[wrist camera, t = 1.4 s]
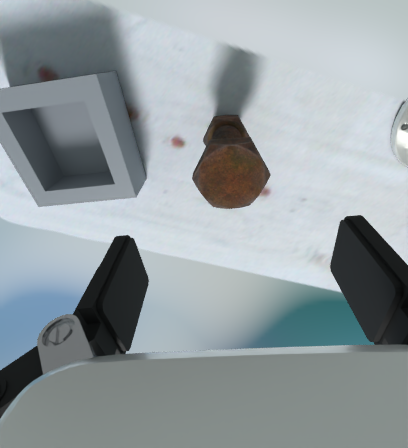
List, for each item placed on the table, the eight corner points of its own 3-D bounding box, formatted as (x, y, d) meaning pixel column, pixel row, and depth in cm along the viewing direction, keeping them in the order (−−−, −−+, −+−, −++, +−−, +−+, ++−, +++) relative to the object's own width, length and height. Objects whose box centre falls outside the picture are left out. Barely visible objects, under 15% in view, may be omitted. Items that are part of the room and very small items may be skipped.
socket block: (116, 70, 27) (95, 73, 23) (146, 178, 34) (136, 197, 30) (9, 87, 28) (-30, 93, 24) (60, 187, 36) (38, 206, 31)
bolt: (217, 94, 28) (219, 125, 16) (255, 114, 29) (283, 159, 17) (196, 140, 31) (183, 196, 19) (231, 157, 32) (240, 221, 20)
